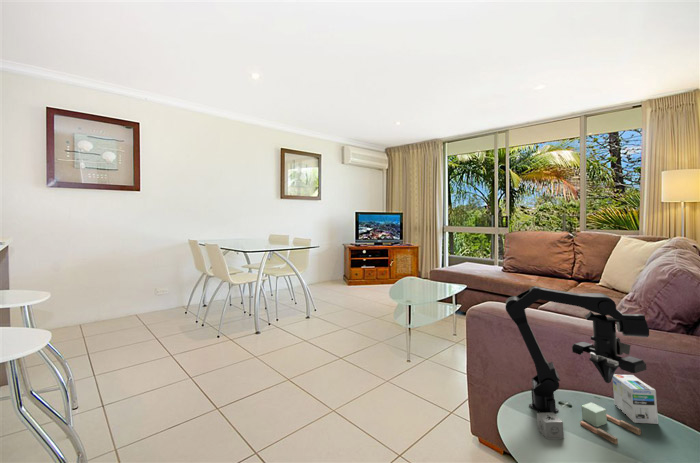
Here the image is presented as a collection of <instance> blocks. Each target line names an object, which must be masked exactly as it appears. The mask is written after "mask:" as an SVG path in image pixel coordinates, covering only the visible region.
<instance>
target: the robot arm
mask: <svg viewBox="0 0 700 463" xmlns="http://www.w3.org/2000/svg"><path fill="white" fill-rule="evenodd" d="M540 300H541V301H546V302H552V303H558V304H563V305H568V306H574V307H579V308H582V309H584V310H587V311H589V312H588V313H587V314H585V315H584V318H585V319H586V320H587V321H592V330H593V332H592V333H593V335H592V336H590V340H592V341H593V344H592V343H589V342H586V341H580V342H576V343H573V344H572V345H571V351H572V353H574V354H576V355H583V354H584V353H587V354H589V355H590V357H589V358H588V359H589V361H591V362H592V364H593V365H594V366H595V368H596V369H597V370H598V373H599V374H600V376H601V377H602V379H603V380H604V382H605V383H606V384H611V382H612V381H613V375H614V374H615V372H616V371H617V370H618V368H620V369H621V370H623V371H626V372H628V373H631V374H637V373H640V372H644V371H647V363H646V361H644V359H640V358H637V357H634V356H631V355H630V352H631V351H630V350H631V344H628V343H624V342H621V339H620V337H617V332H618V333H621V334H622V336H624V337H635V338H637V337H638V338H639V337H640V338H649V336H650V328H649V327H648V322H647V320H646V316H645V315H644V314H642V313H635V314H633V313H622V312H621V311H620V310H619V309H617V304H616V302H615V301H614V300H613V299H612V298H610V296H608V295H607V294H605V293H599V292H595V293H593V292H585V293H577V292H576V293H575V292H569V291H564V290H557V289H551V288H544V287H540V286H537V285H536V286H535V285H534V286H531V287H530V288H528V289H527V290H525V291H523V292H521V293H519V294H517V295H515V296H510V297H508V298H507V299H506V300H505V311H506V313H507V314H508V315H509V317H510V319H511V320H512V321H513V322H514V324H515V325H516V326H517V329H518V331H519V332H520V335H521V338H522V340H523V341H524V344H525V346H526V348H527V350H528V352H529V355H530V357H531V359H532V362H533V364H534V367H535V370H536V375H534V376H533V377H532V378H531V383H532V387H531V388H530V389H531V403H529V404H528V407H530V408H531V409H533V410H535V411H536V412H537V413H550V412H553V413H554V414H555V413H557V412H559V409H558V408H557V407H556V399H555V392H556V391H558V390H559V388H560V381H561V379H560V374H559V373H558V371H557V370H556V368H555V365H554V361H550V362H549V361H548V360H547V359H546V357H545V356H544V353H543V351H542V349H541V347H540V345H539V343H538V341H537V338H536V336H535V334H534V331H533V330H532V327H531V325H530V323H529V321H528V316H527V313H526V309H528V308H529V307H531V306H532V305H533V304H534V303H536V302H537V301H540ZM595 313H596V314H595ZM624 354H626V355H628V356H625V357H623V356H622V355H624Z"/></svg>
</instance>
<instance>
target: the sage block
mask: <svg viewBox="0 0 700 463" xmlns="http://www.w3.org/2000/svg"><path fill="white" fill-rule="evenodd" d="M606 414H607V409H606V408H605V407H602V406H601V405H597V404H595V403H594V402H588V403H585V404H583V405H581V419H582V421H584V422H586V423H588V424H589V425H591V426H593V427H595V428H597V427H601V426H603V425H606V424H607V423H608V421H607V420H608V419H607V417H606Z"/></svg>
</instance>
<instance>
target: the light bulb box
mask: <svg viewBox="0 0 700 463" xmlns="http://www.w3.org/2000/svg"><path fill="white" fill-rule="evenodd" d="M612 388H613V389H612V390H613V402H614V403H613V404H615V405H617V406H618V407H617V406H616V407H617V409H619V410H620V409H621V410H622V411H621V410H620V411H621V412H622V413H623V414H624V415H625V414H626V416H627V417H628V418H629V419H630V420H631V421H632V422H633V423H636V424H652V425H653V424H654V425H658V424H659V415H658V405H657V391H656V389H655V388H654V387H652V386H650V385H648V384H647V383H645V382H644V381H642V380H641V379H640V378H638V377H637V376H635V375H634V374H618V373H617V374H615V373H614V375H613V378H612ZM615 405H614V406H615Z"/></svg>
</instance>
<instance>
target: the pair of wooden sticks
mask: <svg viewBox="0 0 700 463" xmlns="http://www.w3.org/2000/svg"><path fill="white" fill-rule="evenodd" d="M606 417H607V420H608V421H609V422H612V423H614V424H616V425H618V426H620V427H622V428H624V429H625V430H627V431H630V432H631V433H633V434H636V435H638V436H640V435H642V429H641V428H639V427H637V426H635V425H633V424H631V423H628V422H627V421H624V420H622V419H621V420H620V419H618V418H616V417H613V416H611V415H609V414H607V413H606ZM579 423H580V425H581V426H582V427H583V428H585V429H587V430H589V431H591V432H593V433H594V434H596V435H598V436H599V437H602V438H603V439H605V440H607V441H609V443H610V442H611V443H612V444H614V445H617V444H619V443H618V442H619V441H618V437H616V436H615V435H613V434H610V433H609V432H607V431H605V430H603V429H602V428H597V427H596V426H594V425H592V424H590V423H588V422H587V421H585V420H581V421H579Z"/></svg>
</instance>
